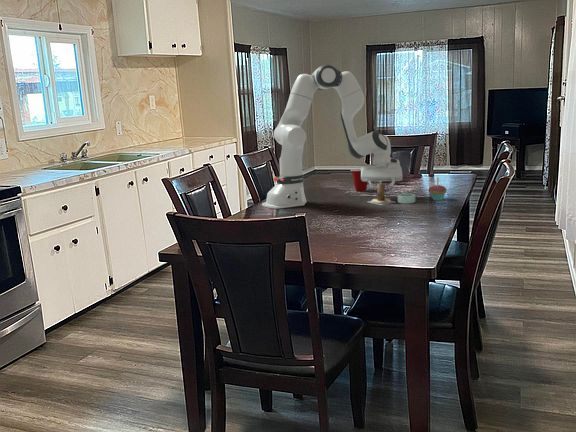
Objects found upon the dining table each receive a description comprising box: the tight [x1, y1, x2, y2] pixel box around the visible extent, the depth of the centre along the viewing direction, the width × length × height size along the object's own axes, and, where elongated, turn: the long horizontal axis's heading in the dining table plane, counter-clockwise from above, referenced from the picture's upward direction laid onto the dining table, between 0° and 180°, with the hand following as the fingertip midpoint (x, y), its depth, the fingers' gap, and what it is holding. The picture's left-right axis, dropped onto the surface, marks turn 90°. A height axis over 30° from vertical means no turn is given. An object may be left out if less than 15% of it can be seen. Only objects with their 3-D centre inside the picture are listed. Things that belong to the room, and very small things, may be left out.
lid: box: [371, 182, 392, 205], centre depth 276 cm, size 9×9×9 cm
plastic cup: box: [350, 168, 369, 192], centre depth 308 cm, size 11×11×12 cm
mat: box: [367, 200, 396, 206], centre depth 277 cm, size 10×10×1 cm
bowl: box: [397, 192, 416, 204], centre depth 275 cm, size 8×8×4 cm
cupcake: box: [428, 176, 448, 201], centre depth 277 cm, size 9×8×12 cm
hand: (381, 187), depth 277 cm, fingers open, 8 cm apart
